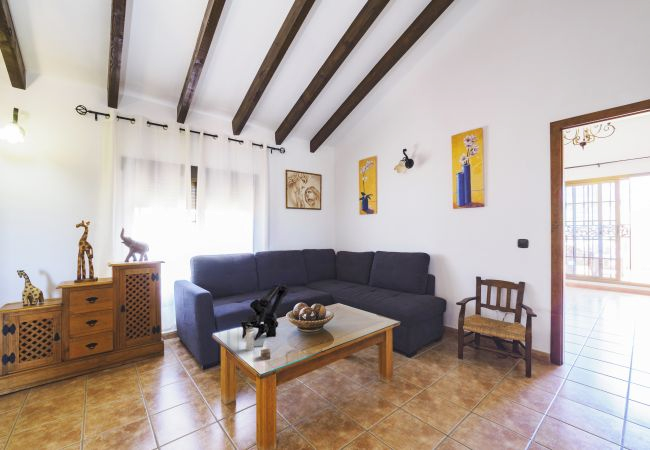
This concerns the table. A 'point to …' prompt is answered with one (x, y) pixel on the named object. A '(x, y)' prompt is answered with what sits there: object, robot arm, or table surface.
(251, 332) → the jar
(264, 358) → the walnut block
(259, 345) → the slate tile
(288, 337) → the table surface
